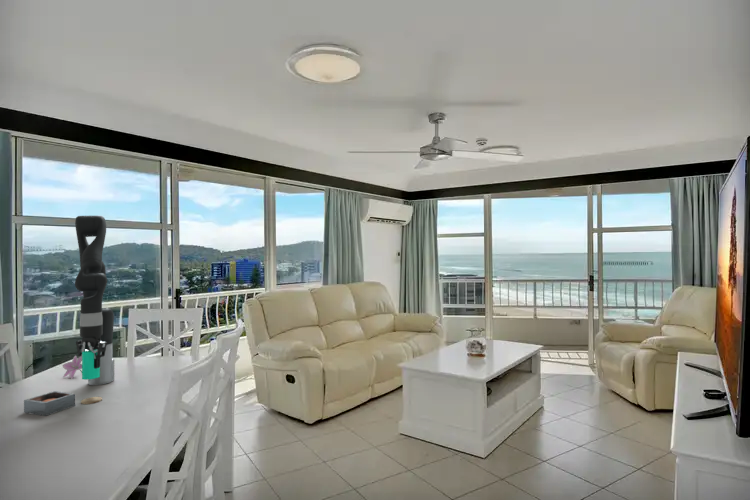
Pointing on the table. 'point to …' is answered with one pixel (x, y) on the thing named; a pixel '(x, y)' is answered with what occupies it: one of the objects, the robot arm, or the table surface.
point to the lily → (73, 366)
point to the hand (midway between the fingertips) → (91, 367)
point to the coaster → (91, 400)
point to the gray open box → (49, 403)
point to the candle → (89, 366)
